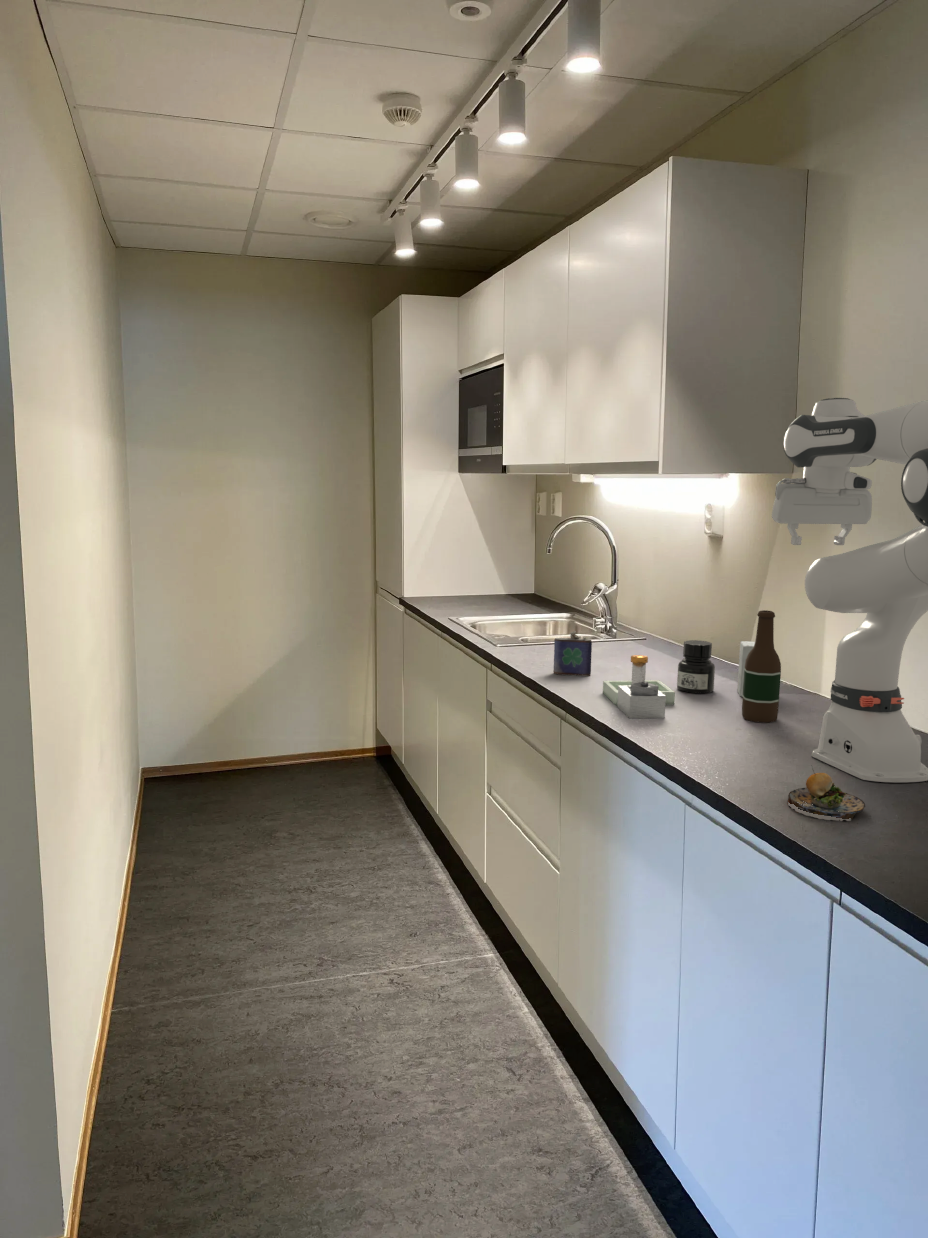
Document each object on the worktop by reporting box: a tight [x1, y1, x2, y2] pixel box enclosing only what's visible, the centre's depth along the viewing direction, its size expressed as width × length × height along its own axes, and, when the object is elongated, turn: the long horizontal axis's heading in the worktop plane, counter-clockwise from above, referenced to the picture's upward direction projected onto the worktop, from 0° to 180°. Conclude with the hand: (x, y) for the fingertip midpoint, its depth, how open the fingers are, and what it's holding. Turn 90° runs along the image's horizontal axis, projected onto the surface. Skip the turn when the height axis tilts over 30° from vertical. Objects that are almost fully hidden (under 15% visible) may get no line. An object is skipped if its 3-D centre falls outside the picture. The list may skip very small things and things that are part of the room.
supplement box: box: [736, 640, 755, 698], centre depth 227 cm, size 7×7×13 cm
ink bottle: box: [676, 639, 716, 694], centre depth 231 cm, size 10×9×12 cm
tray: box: [602, 679, 676, 706], centre depth 222 cm, size 12×14×3 cm
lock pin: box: [630, 654, 649, 684], centre depth 211 cm, size 4×4×12 cm
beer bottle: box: [741, 609, 782, 724], centre depth 204 cm, size 8×8×24 cm
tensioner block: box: [616, 682, 666, 719], centre depth 209 cm, size 10×8×7 cm
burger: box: [787, 765, 866, 820], centre depth 151 cm, size 12×12×8 cm
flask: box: [553, 630, 593, 677], centre depth 247 cm, size 10×3×12 cm, turn 79°
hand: (817, 544), depth 195 cm, fingers open, 8 cm apart
